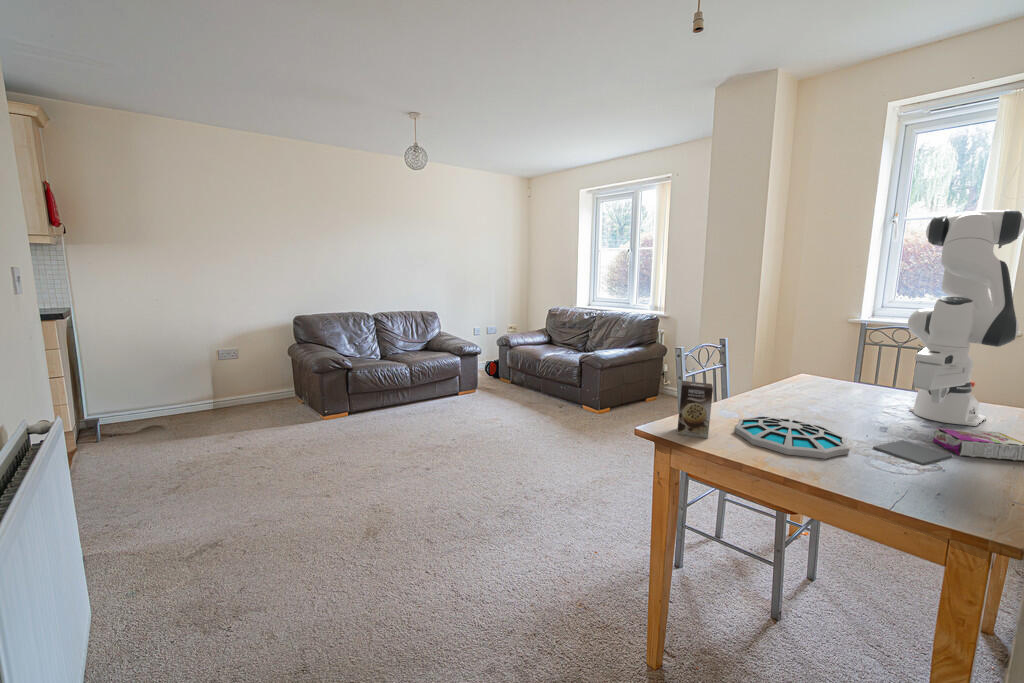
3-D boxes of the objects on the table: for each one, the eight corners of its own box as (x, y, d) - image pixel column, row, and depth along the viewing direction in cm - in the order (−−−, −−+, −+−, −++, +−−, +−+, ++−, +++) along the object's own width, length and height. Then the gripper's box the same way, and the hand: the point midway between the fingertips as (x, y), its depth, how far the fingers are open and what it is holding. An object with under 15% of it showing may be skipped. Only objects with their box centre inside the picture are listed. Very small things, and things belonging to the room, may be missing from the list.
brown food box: (677, 434, 141) (680, 384, 138) (677, 428, 147) (681, 379, 144) (708, 439, 138) (713, 387, 135) (707, 432, 144) (712, 382, 141)
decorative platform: (875, 460, 125) (878, 443, 124) (774, 460, 123) (776, 443, 122) (800, 422, 155) (801, 408, 154) (717, 422, 153) (718, 408, 153)
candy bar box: (934, 426, 137) (999, 431, 134) (932, 442, 138) (996, 447, 135) (962, 439, 126) (1033, 445, 123) (959, 456, 127) (1029, 462, 124)
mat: (902, 441, 138) (902, 439, 137) (952, 457, 127) (952, 455, 127) (872, 448, 132) (873, 446, 132) (922, 465, 121) (923, 463, 121)
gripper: (951, 351, 134) (943, 396, 136) (911, 354, 126) (904, 402, 128) (979, 355, 128) (971, 401, 130) (940, 359, 120) (931, 409, 123)
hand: (937, 402), depth 129 cm, fingers closed
